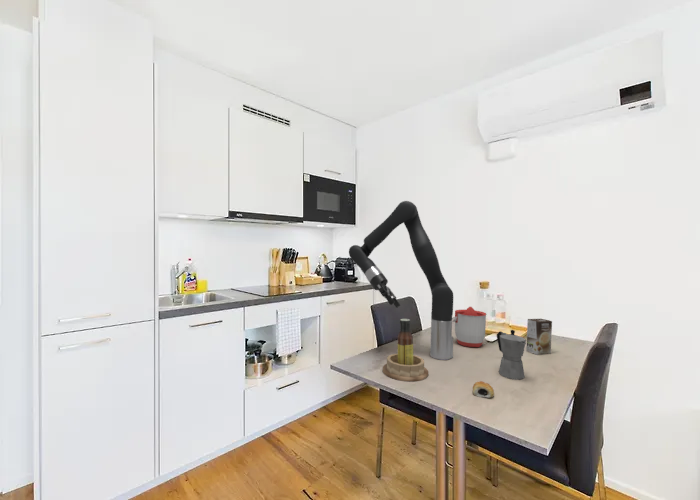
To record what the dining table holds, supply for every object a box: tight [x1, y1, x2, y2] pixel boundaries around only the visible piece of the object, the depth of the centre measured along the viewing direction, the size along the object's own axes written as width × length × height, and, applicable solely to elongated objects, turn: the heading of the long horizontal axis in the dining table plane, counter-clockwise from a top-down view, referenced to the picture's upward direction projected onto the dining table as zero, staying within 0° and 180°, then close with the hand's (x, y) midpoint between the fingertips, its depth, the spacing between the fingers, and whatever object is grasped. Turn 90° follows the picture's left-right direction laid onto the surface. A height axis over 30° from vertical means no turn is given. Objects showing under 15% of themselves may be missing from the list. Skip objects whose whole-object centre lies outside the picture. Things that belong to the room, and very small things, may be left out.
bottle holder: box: [382, 353, 429, 382], centre depth 126 cm, size 18×18×5 cm
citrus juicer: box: [452, 306, 487, 348], centre depth 167 cm, size 16×17×20 cm
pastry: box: [472, 380, 495, 399], centre depth 110 cm, size 9×7×4 cm
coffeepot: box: [496, 329, 527, 381], centre depth 127 cm, size 15×9×18 cm, turn 13°
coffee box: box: [525, 318, 553, 356], centre depth 156 cm, size 9×6×16 cm
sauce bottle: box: [396, 318, 414, 365], centre depth 126 cm, size 6×6×20 cm
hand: (395, 305), depth 142 cm, fingers open, 8 cm apart
